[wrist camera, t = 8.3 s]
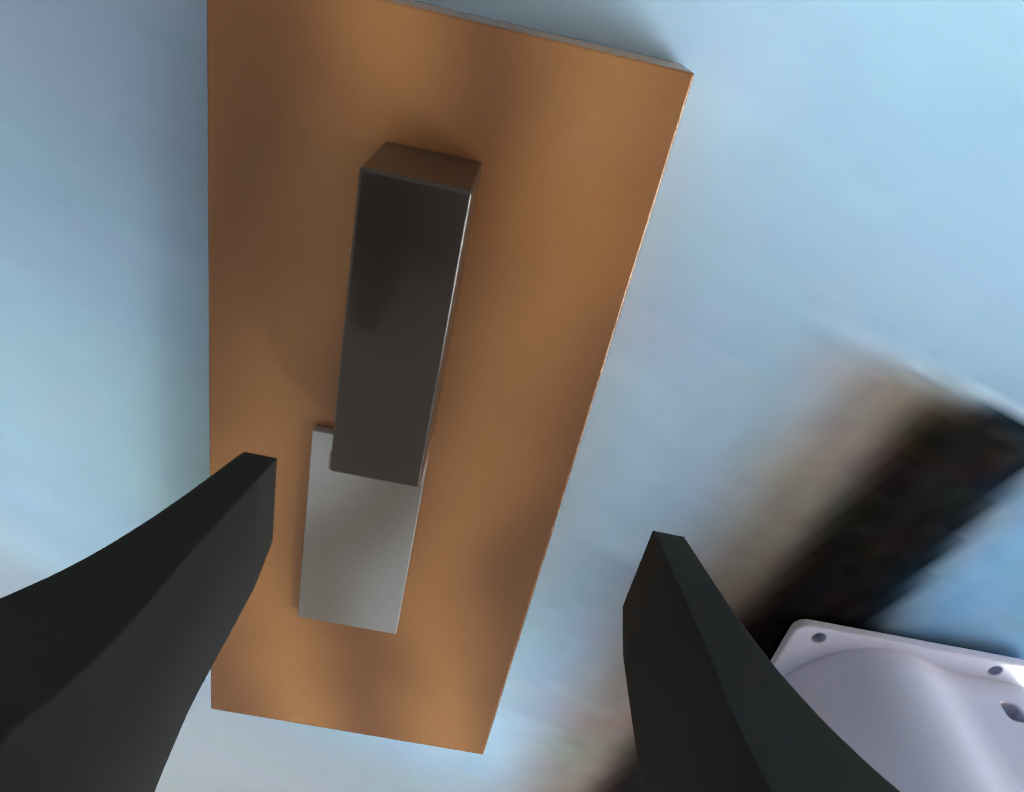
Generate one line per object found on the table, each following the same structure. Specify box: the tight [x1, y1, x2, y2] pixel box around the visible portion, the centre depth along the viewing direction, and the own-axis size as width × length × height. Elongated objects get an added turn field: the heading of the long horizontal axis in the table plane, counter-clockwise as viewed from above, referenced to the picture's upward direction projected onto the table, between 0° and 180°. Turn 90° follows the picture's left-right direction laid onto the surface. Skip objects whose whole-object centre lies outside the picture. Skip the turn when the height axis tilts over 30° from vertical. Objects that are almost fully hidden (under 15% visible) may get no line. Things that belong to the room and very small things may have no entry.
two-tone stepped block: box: [298, 141, 482, 634], centre depth 20 cm, size 4×17×3 cm, turn 169°
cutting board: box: [207, 0, 694, 754], centre depth 23 cm, size 11×26×2 cm, turn 168°
